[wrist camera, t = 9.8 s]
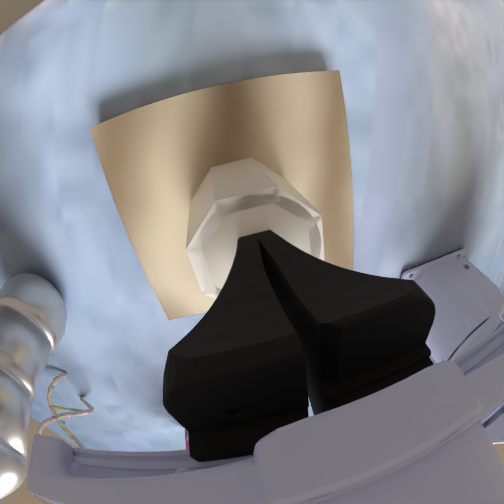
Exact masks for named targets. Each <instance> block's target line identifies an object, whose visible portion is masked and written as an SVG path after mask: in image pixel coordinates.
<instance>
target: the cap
mask: <svg viewBox="0 0 504 504" xmlns="http://www.w3.org/2000/svg"><path fill="white" fill-rule="evenodd" d="M266 230H271V231H273V232H274V233H276V234H277V235H279V236H280V237H282V238H283V239H285V240H286V241H288V242H289V243H291V244H292V245H294V246H296V247H297V248H299V249H301V250H302V251H304V252H306V253H308V254H310V255H312V256H314V257H316V258H318V259H321V260H323V261H325V259H324V242H323V228H322V215H321V214H320V213H319V212H318V211H317V210H316V209H315V208H314V207H313V206H312V205H311V204H310V203H309V202H308V201H307V200H306V199H305V198H304V197H303V196H302V195H301V194H300V193H299V192H298V191H297V190H296V189H295V188H294V187H293V186H292V185H291V184H290V183H289V182H288V181H287V180H286V179H285V178H283V177H282V176H280V175H279V174H277V173H275V172H274V171H272V170H271V169H269V168H268V167H266V166H265V165H263V164H261V163H260V162H258V161H257V160H255V159H253V158H252V157H251V158H248V159H243V160H239V161H235V162H230V163H226V164H222V165H218V166H214V167H211V169H210V170H209V172H208V173H207V175H206V177H205V178H204V180H203V182H202V183H201V185H200V187H199V188H198V190H197V192H196V193H195V195H194V197H193V198H192V200H191V202H190V211H189V220H188V230H187V240H186V251H187V254H188V257H189V260H190V262H191V265H192V268H193V270H194V273H195V275H196V278H197V281H198V283H199V286H200V288H201V291H202V294H204V295H206V296H209V297H211V298H214V299H216V298H217V296H218V295H219V293H220V291H221V289H222V287H223V285H224V283H225V281H226V279H227V277H228V274H229V272H230V269H231V267H232V264H233V260H234V257H235V253H236V249H237V240H238V239H239V237H243V236H246V235H250V234H254V233H258V232H262V231H266Z"/></svg>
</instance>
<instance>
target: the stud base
mask: <svg viewBox="0 0 504 504" xmlns="http://www.w3.org/2000/svg"><path fill="white" fill-rule="evenodd" d="M90 129H91V133H92V136H93V140H94V143H95V146H96V149H97V153H98V156H99V159H100V162H101V165H102V168H103V171H104V174H105V177H106V180H107V182H108V185H109V188H110V191H111V193H112V196H113V199H114V201H115V204H116V207H117V209H118V212H119V214H120V217H121V219H122V222H123V224H124V227H125V229H126V231H127V234H128V236H129V238H130V241H131V243H132V245H133V248H134V250H135V252H136V254H137V257H138V259H139V261H140V263H141V265H142V267H143V269H144V272H145V274H146V276H147V278H148V280H149V282H150V284H151V286H152V288H153V290H154V292H155V294H156V296H157V298H158V300H159V302H160V304H161V306H162V308H163V310H164V312H165V313H166V315H167V317H168V319H169V320H172V319H177V318H181V317H186V316H190V315H195V314H199V313H203V312H207V311H208V310H209V309H210V307H211V306H212V304H213V303H214V301H215V300H216V299H214V298H211V297H209V296H206V295H204V294H202V291H201V288H200V286H199V283H198V281H197V278H196V275H195V273H194V270H193V268H192V265H191V262H190V260H189V257H188V254H187V251H186V240H187V230H188V220H189V211H190V202H191V200H192V198H193V197H194V195H195V193H196V192H197V190H198V188H199V187H200V185H201V183H202V182H203V180H204V178H205V177H206V175H207V173H208V172H209V170H210V169H211V167H214V166H218V165H222V164H226V163H230V162H235V161H239V160H243V159H248V158H251V157H252V158H253V159H255V160H257V161H258V162H260V163H261V164H263V165H265V166H266V167H268V168H269V169H271V170H272V171H274V172H275V173H277V174H279V175H280V176H282V177H283V178H285V179H286V180H287V181H288V182H289V183H290V184H291V185H292V186H293V187H294V188H295V189H296V190H297V191H298V192H299V193H300V194H301V195H302V196H303V197H304V198H305V199H306V200H307V201H308V202H309V203H310V204H311V205H312V206H313V207H314V208H315V209H316V210H317V211H318V212H319V213H320V214H321V215H322V228H323V242H324V259H325V261H326V262H328V263H331V264H333V265H336V266H339V267H342V268H346V269H349V270H353V256H354V224H353V192H352V174H351V160H350V148H349V138H348V128H347V120H346V112H345V104H344V97H343V91H342V85H341V79H340V73H339V70H336V71H314V72H301V73H290V74H281V75H273V76H266V77H259V78H253V79H247V80H241V81H236V82H231V83H226V84H221V85H216V86H212V87H208V88H204V89H199V90H196V91H192V92H188V93H184V94H181V95H177V96H174V97H170V98H167V99H164V100H161V101H158V102H155V103H152V104H149V105H146V106H143V107H140V108H137V109H134V110H132V111H129V112H126V113H124V114H121V115H119V116H116V117H114V118H111V119H109V120H107V121H104V122H102V123H100V124H97V125H95V126H93V127H91V128H90Z"/></svg>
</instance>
